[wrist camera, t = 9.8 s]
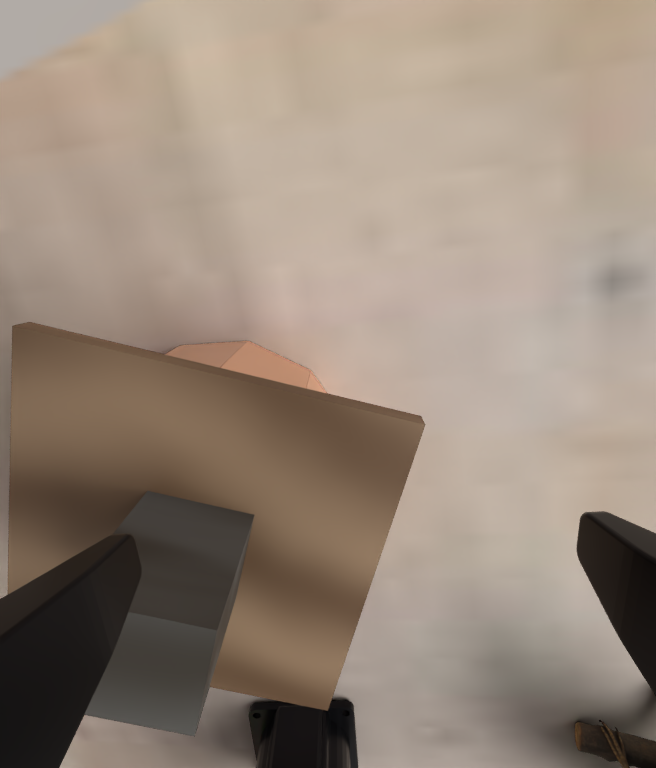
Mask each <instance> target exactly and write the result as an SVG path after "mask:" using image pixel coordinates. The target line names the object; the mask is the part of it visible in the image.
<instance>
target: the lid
mask: <svg viewBox="0 0 656 768" xmlns="http://www.w3.org/2000/svg"><path fill="white" fill-rule="evenodd" d="M424 427H425V423H424V421H423V419H422V417H421V416H418V415H414V414H410V413H406V412H402V411H398V410H394V409H389V408H385V407H381V406H377V405H373V404H369V403H364V402H360V401H356V400H352V399H348V398H344V397H339V396H335V395H331V394H327V393H323V392H319V391H315V390H310V389H306V388H302V387H298V386H294V385H290V384H285V383H281V382H277V381H273V380H269V379H265V378H260V377H256V376H252V375H248V374H244V373H240V372H236V371H231V370H227V369H223V368H219V367H215V366H211V365H206V364H202V363H198V362H194V361H190V360H186V359H181V358H177V357H173V356H169V355H165V354H161V353H156V352H152V351H148V350H144V349H140V348H136V347H132V346H127V345H123V344H119V343H115V342H111V341H107V340H102V339H98V338H94V337H90V336H86V335H82V334H77V333H73V332H69V331H65V330H61V329H57V328H53V327H48V326H44V325H40V324H36V323H32V322H28V323H23V324H19V325H14V326H12V380H11V435H10V489H9V544H8V594H10V593H11V592H13V591H15V590H17V589H18V588H20V587H22V586H24V585H25V584H27V583H29V582H30V581H32V580H34V579H36V578H37V577H39V576H41V575H42V574H44V573H46V572H48V571H49V570H51V569H53V568H54V567H56V566H58V565H60V564H61V563H63V562H65V561H66V560H68V559H70V558H72V557H73V556H75V555H77V554H78V553H80V552H82V551H84V550H85V549H87V548H89V547H90V546H92V545H94V544H96V543H97V542H99V541H101V540H102V539H104V538H106V537H108V536H109V535H112V534H131V535H133V537H134V538H135V541H136V545H137V549H138V553H139V558H140V562H141V566H142V574H141V579H140V582H139V585H138V587H137V590H136V593H135V596H134V598H133V601H132V604H131V607H130V609H129V612H128V615H127V618H126V620H125V623H124V626H123V628H122V631H121V634H120V637H119V639H118V642H117V645H116V647H115V650H114V652H113V655H112V657H111V659H110V661H109V664H108V666H107V668H106V670H105V672H104V674H103V676H102V679H101V681H100V683H99V685H98V687H97V689H96V691H95V693H94V695H93V697H92V700H91V702H90V704H89V706H88V708H87V710H86V712H85V714H84V715H88V716H93V717H98V718H103V719H109V720H114V721H119V722H124V723H129V724H134V725H139V726H144V727H149V728H154V729H159V730H164V731H169V732H175V733H180V734H185V735H190V736H195V733H196V730H197V727H198V723H199V720H200V717H201V713H202V710H203V707H204V703H205V700H206V697H207V693H208V690H209V687H213V688H218V689H223V690H228V691H233V692H238V693H243V694H248V695H253V696H257V697H262V698H267V699H272V700H277V701H282V702H287V703H292V704H297V705H302V706H307V707H312V708H317V709H321V710H326V711H328V709H329V706H330V703H331V700H332V697H333V694H334V691H335V688H336V685H337V682H338V679H339V676H340V673H341V670H342V667H343V665H344V662H345V659H346V656H347V653H348V650H349V647H350V644H351V641H352V638H353V635H354V632H355V629H356V626H357V624H358V621H359V618H360V615H361V612H362V609H363V606H364V603H365V600H366V597H367V594H368V591H369V588H370V585H371V582H372V580H373V577H374V574H375V571H376V568H377V565H378V562H379V559H380V556H381V553H382V550H383V547H384V544H385V541H386V538H387V536H388V533H389V530H390V527H391V524H392V521H393V518H394V515H395V512H396V509H397V506H398V503H399V500H400V497H401V495H402V492H403V489H404V486H405V483H406V480H407V477H408V474H409V471H410V468H411V465H412V462H413V459H414V456H415V453H416V451H417V448H418V445H419V442H420V439H421V436H422V433H423V430H424Z"/></svg>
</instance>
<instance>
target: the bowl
mask: <svg viewBox="0 0 656 768" xmlns="http://www.w3.org/2000/svg"><path fill="white" fill-rule="evenodd" d="M165 355H169V356H173V357H177V358H181V359H186V360H190V361H194V362H198V363H202V364H206V365H211V366H215V367H219V368H223V369H227V370H231V371H236V372H240V373H244V374H248V375H252V376H256V377H260V378H265V379H269V380H273V381H277V382H281V383H285V384H290V385H294V386H298V387H302V388H306V389H310V390H315V391H319V392H323V393H327V392H326V391H325V390H324V388H323V387H322V385H321V384H320V383H319V381H318V380H317V378H316V377H315V376H314V374H313V373H312V371H311V370H309V369H307V368H305V367H303V366H301V365H299V364H297V363H294V362H292V361H290V360H288V359H286V358H284V357H282V356H280V355H277V354H275V353H273V352H271V351H269V350H267V349H265V348H263V347H260V346H258V345H256V344H254V343H252V342H250V341H237V342H222V343H207V344H193V345H180V346H179V347H177V348H175V349H173V350H172V351H170V352H168V353H166V354H165Z"/></svg>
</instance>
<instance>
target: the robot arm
mask: <svg viewBox="0 0 656 768" xmlns="http://www.w3.org/2000/svg"><path fill="white" fill-rule="evenodd" d="M577 555H578V558H579V561H580V563H581V565H582V567H583V569H584V571H585V573H586V575H587V577H588V579H589V581H590V582H591V584H592V586H593V588H594V590H595V592H596V594H597V596H598V598H599V600H600V602H601V604H602V606H603V608H604V610H605V612H606V614H607V616H608V618H609V620H610V622H611V623H612V625H613V627H614V629H615V631H616V633H617V634H618V636H619V638H620V640H621V641H622V643H623V645H624V646H625V648H626V650H627V651H628V653H629V654H630V656H631V657H632V659H633V661H634V662H635V664H636V665H637V667H638V668H639V670H640V672H641V673H642V675H643V676H644V678H645V679H646V681H647V683H648V684H649V686H650V687H651V689H652V690H653V692H654V694H655V695H656V533H654V532H651V531H649V530H647V529H645V528H642V527H640V526H638V525H635V524H633V523H631V522H629V521H626V520H624V519H622V518H619V517H617V516H615V515H613V514H610V513H608V512H604V511H601V512H585V513H584V514H582V516H581V518H580V523H579V532H578V540H577ZM141 574H142V566H141V562H140V558H139V553H138V549H137V545H136V541H135V538H134V537H133V535H131V534H112V535H109V536H108V537H106V538H104V539H102V540H101V541H99V542H97V543H96V544H94V545H92V546H90V547H89V548H87V549H85V550H84V551H82V552H80V553H78V554H77V555H75V556H73V557H72V558H70V559H68V560H66V561H65V562H63V563H61V564H60V565H58V566H56V567H54V568H53V569H51V570H49V571H48V572H46V573H44V574H42V575H41V576H39V577H37V578H36V579H34V580H32V581H30V582H29V583H27V584H25V585H24V586H22V587H20V588H18V589H17V590H15V591H13V592H11V593H10V594H8V595H6V596H5V597H3V598H1V599H0V768H59V767H60V765H61V763H62V761H63V759H64V756H65V754H66V752H67V750H68V748H69V746H70V744H71V742H72V740H73V737H74V735H75V733H76V731H77V729H78V727H79V725H80V723H81V721H82V719H83V716H84V714H85V712H86V710H87V708H88V706H89V704H90V702H91V700H92V697H93V695H94V693H95V691H96V689H97V687H98V685H99V683H100V681H101V679H102V676H103V674H104V672H105V670H106V668H107V666H108V664H109V661H110V659H111V657H112V655H113V652H114V650H115V647H116V645H117V642H118V639H119V637H120V634H121V631H122V628H123V626H124V623H125V620H126V618H127V615H128V612H129V609H130V607H131V604H132V601H133V598H134V596H135V593H136V590H137V587H138V585H139V582H140V579H141ZM249 720H250V726H251V731H252V737H253V743H254V748H255V754H256V760H257V765H256V768H358V757H357V744H356V730H355V717H354V706H353V704H352V703H351V702H349V701H331V703H330V706H329V709H328V711H326V710H321V709H317V708H312V707H307V706H302V705H297V704H292V703H287V702H280V703H255V704H253V705H251V707H250V711H249Z"/></svg>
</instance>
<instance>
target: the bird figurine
mask: <svg viewBox="0 0 656 768" xmlns="http://www.w3.org/2000/svg"><path fill="white" fill-rule="evenodd" d="M599 722H602V724H603V726H601V725H589V724H585V723H582V722H577V723H576V724H575V741H576V746H577V748H578V750H579V751H582V752H586V753H590V754H594V755H597V756H600V757H602V758H604V759H606V760H608V761H617V762H620V764H621V765H622V767H623V768H630V767H629V766H635V767H638V768H656V742H655V741H653V740H648V739H644V738H641V737H638V736H634V735H630V734H626V733H621V732H618V730H617V728H616V727H615V728H616V730H617V731H614V730H611V729H609V728H608V726H607V725H606V724H605V723H604V722H603V721H601V720H599Z"/></svg>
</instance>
